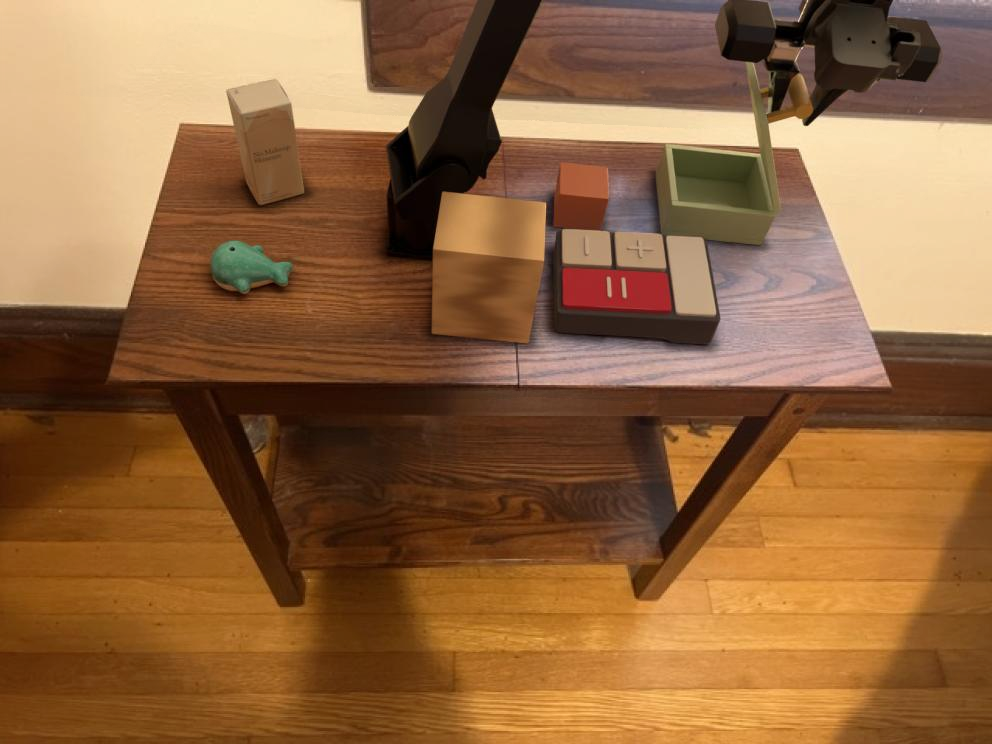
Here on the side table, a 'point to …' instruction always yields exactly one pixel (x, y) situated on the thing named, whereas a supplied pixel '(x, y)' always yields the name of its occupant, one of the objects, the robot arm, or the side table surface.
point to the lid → (799, 109)
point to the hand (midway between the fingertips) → (787, 121)
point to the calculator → (634, 285)
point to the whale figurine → (246, 267)
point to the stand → (487, 266)
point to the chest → (713, 194)
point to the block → (581, 196)
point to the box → (266, 140)
